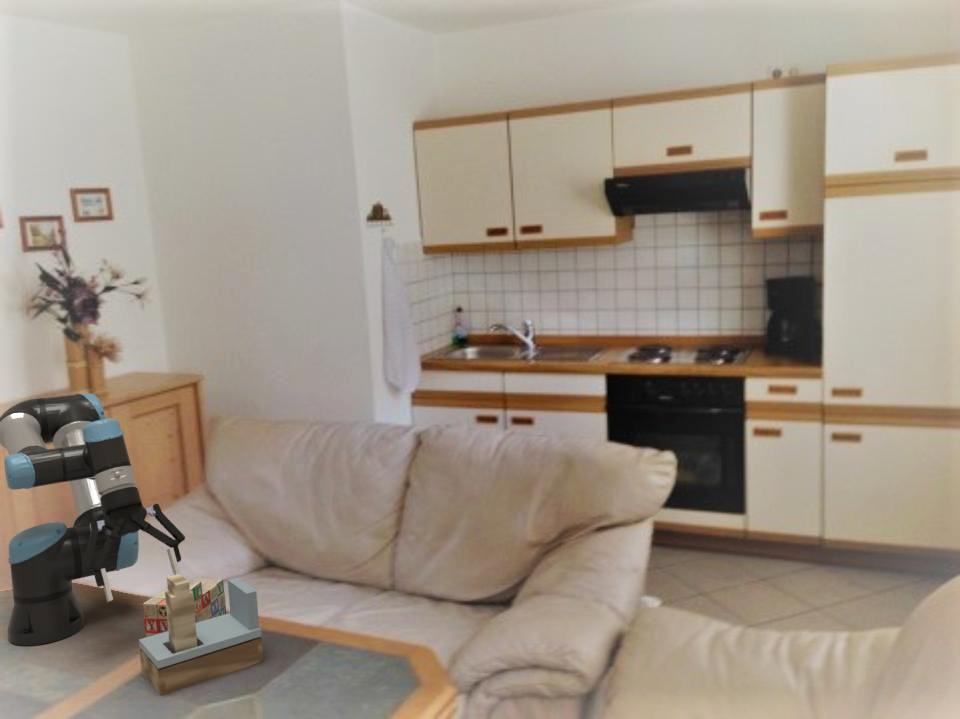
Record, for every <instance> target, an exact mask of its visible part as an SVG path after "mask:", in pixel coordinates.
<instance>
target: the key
mask: <svg viewBox="0 0 960 719" xmlns="http://www.w3.org/2000/svg"><path fill="white" fill-rule="evenodd" d="M180 574H181V573H180ZM180 574H177V575H174V574H173V575H170V576H167V577H166V584H167V586H166V587H168V590H169V591H166V592H165V599H166V610H167V622H168V633H169V644H170V652H171V653H172V654H174V653H177V652H181V651H184V650H187V649H190V648H194V647H197V634H196V622H195V611H194V599H193V592H192V591H191V590H190V587H189V581H190V580H188V579H187V578H185V577H184V576H183V575H180Z"/></svg>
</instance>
